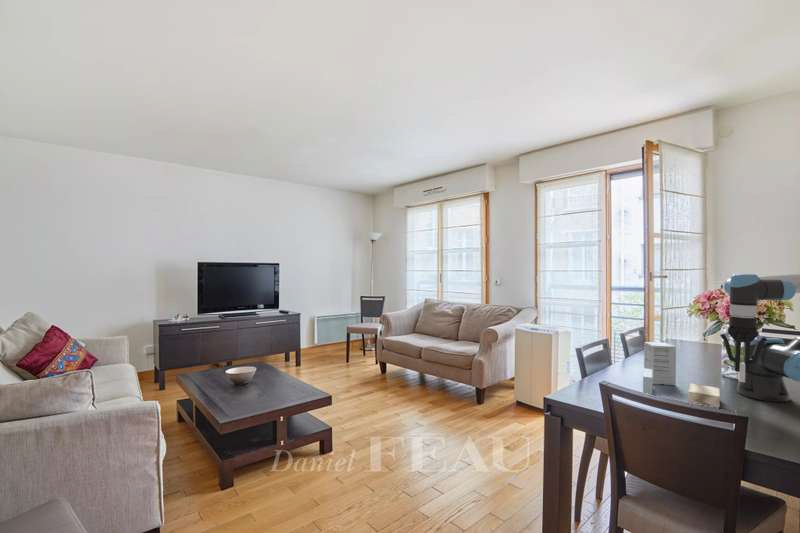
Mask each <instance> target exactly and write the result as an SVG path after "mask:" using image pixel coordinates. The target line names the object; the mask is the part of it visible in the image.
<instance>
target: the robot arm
mask: <svg viewBox="0 0 800 533" xmlns="http://www.w3.org/2000/svg"><path fill="white" fill-rule="evenodd" d="M723 290H724V291H725V293H726V294H727V295H729V319H728V320H729V322H728V328H727V330H726V331H725V332H721V333H720V334H719V336H720V338H721V339H722V341H723V344H724V346H725V351H726V353H727V358H728V360H729V361H731V362H734V371H735V372H736V373H738V375H737V376H738V377H737V379H738V384H737V386H736V389H737V390H736V391H737V393H738V394H739V395H742V396H745V397H747V398H750V399H754V400H758V401H759V400H760V401H765V402H773V403H786V402H789V401H790V393H789V390H788V387H787V385H786V383H785V380H784V378H788V379H791V380H793V381H795V382H799V383H800V337H799V336H796V337H794V338H793V339H791V341H789V342H788V343H787V344H785V342H784V339H783V338H780V337H779V338H775V337H765V336H762V335H760V334H759V331H758V329H757V328H758V319H757V318H756V317H757V316H758V301H779V302H781V301H789V300H792V299H793V298H794V297H795V295H796V294H800V273H794V274H793V273H792V274H791V273H790V274H778V275H765V276H764V275H763V276H758V275H757V274H756V273H755V274H753V273H733V274H732V275H730V278H728V279H727V280H726V281H725V282H724V285H723ZM729 336H730V337H731V338H732V340H734V355H733V352H732V349H731V345H730V342H729V338H730V337H729ZM742 343H743V344H742ZM741 345H743V346H742V356H743V357H742V362H741Z"/></svg>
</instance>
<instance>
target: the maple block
mask: <svg viewBox="0 0 800 533" xmlns="http://www.w3.org/2000/svg"><path fill="white" fill-rule="evenodd" d="M720 393H721V392H720V387H716V386H709V385H703V384H697V383H689V387H688V403H689V402H691V403H695V404H702V405H707V406H710V405H713V406H715V407H720V406H721V405H720V404H721V402H720V399H721V396H720V395H721V394H720Z"/></svg>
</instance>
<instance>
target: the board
mask: <svg viewBox="0 0 800 533" xmlns="http://www.w3.org/2000/svg"><path fill="white" fill-rule="evenodd" d="M642 376H643V377H642V393H643V392H644V393H648V394H652V395H653V384H652V379H653V369H646V368H644V367H643V374H642Z"/></svg>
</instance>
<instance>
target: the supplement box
mask: <svg viewBox="0 0 800 533" xmlns="http://www.w3.org/2000/svg"><path fill="white" fill-rule="evenodd" d="M676 348H677V346H675V345H672V344H670V343H668V342H662V341H661V342H660V341H659V342H658V341H657V342H656V341H654V342H653V341H644V343H643V351H644V352H643V354H644V355H643V356H644V357H643V358H644V361H643V369H644V368H646V369H653V379H652V385H660V384H664V386H676V385H677V384H676V381H677V380H676V379H677V378H676V377H677V376H676V375H677V373H676V372H677V369H676V368H677V363H676V362H677V361H676V360H677V359H676V357H677V356H676V355H677V351H676Z"/></svg>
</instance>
